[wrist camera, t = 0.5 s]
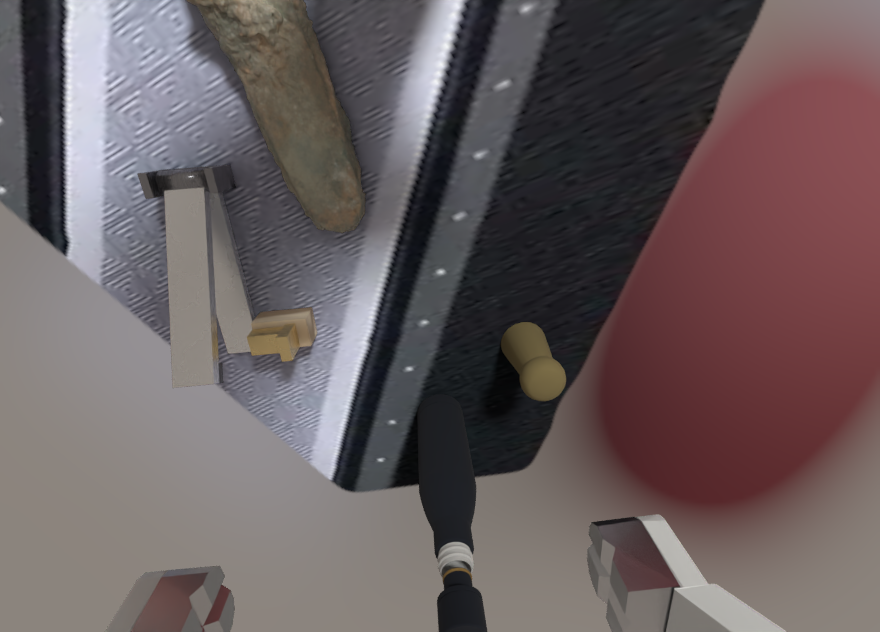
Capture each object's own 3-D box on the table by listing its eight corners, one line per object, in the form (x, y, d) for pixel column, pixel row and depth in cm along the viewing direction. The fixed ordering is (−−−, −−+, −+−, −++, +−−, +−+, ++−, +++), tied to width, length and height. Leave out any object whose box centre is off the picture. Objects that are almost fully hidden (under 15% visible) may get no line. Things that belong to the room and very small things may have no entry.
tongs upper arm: (170, 177, 46) (155, 167, 43) (216, 173, 46) (203, 163, 44) (179, 386, 44) (164, 388, 42) (227, 382, 44) (215, 384, 42)
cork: (510, 368, 59) (530, 417, 49) (494, 333, 57) (512, 376, 47) (551, 351, 59) (580, 396, 49) (536, 314, 56) (564, 354, 46)
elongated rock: (310, 239, 52) (387, 212, 52) (303, 252, 48) (388, 221, 47) (130, -137, 37) (239, -178, 37) (94, -174, 32) (218, -222, 32)
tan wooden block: (260, 311, 54) (250, 323, 50) (312, 307, 54) (305, 318, 51) (267, 337, 55) (258, 350, 52) (317, 333, 55) (311, 345, 52)
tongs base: (163, 169, 47) (137, 173, 42) (230, 164, 47) (211, 167, 43) (219, 350, 55) (202, 369, 51) (275, 345, 56) (263, 363, 51)
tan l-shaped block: (251, 327, 50) (240, 340, 47) (295, 323, 50) (287, 336, 47) (258, 349, 51) (247, 364, 48) (300, 346, 52) (292, 360, 48)
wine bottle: (441, 385, 60) (469, 602, 32) (471, 413, 62) (520, 638, 34) (407, 412, 61) (406, 641, 34) (437, 438, 63) (458, 674, 36)
